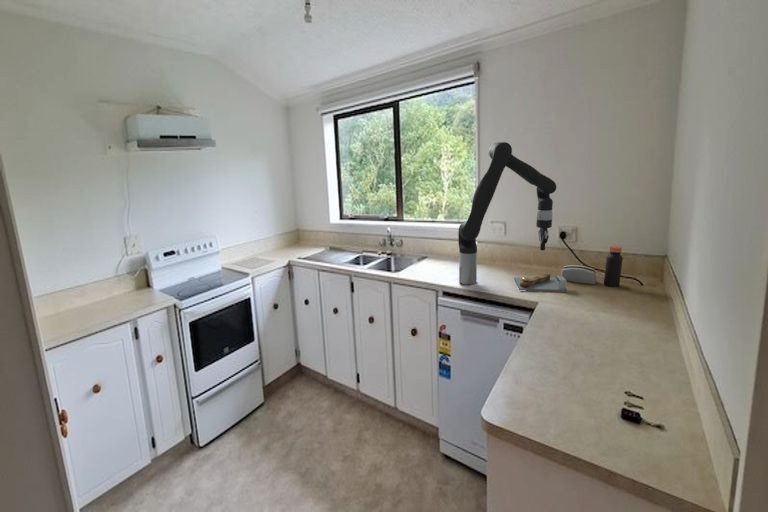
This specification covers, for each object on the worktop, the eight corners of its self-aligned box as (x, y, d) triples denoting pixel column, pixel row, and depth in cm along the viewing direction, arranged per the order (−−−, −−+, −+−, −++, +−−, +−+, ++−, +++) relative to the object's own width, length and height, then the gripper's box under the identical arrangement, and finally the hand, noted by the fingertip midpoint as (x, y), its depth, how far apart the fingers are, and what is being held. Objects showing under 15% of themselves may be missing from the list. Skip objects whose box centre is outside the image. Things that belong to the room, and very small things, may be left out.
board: (519, 291, 184) (519, 288, 184) (514, 279, 201) (514, 277, 201) (566, 292, 180) (567, 289, 180) (557, 280, 197) (557, 278, 197)
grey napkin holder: (596, 281, 193) (597, 265, 187) (595, 286, 189) (596, 271, 184) (561, 277, 201) (561, 262, 196) (560, 282, 198) (560, 267, 193)
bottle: (605, 282, 190) (610, 244, 185) (620, 284, 186) (625, 246, 181) (601, 285, 186) (606, 247, 181) (617, 288, 181) (622, 249, 176)
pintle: (522, 281, 185) (522, 278, 185) (521, 279, 188) (521, 277, 187) (528, 281, 185) (528, 278, 184) (527, 279, 187) (527, 277, 187)
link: (525, 287, 184) (525, 283, 183) (518, 285, 188) (518, 280, 187) (552, 279, 194) (552, 275, 193) (545, 277, 197) (545, 273, 197)
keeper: (559, 289, 180) (559, 280, 179) (555, 284, 187) (556, 275, 186) (565, 289, 180) (566, 280, 179) (561, 284, 187) (562, 275, 185)
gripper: (534, 216, 201) (532, 247, 205) (539, 220, 188) (537, 253, 192) (548, 216, 199) (546, 247, 204) (555, 220, 187) (552, 253, 191)
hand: (542, 250), depth 198 cm, fingers closed
